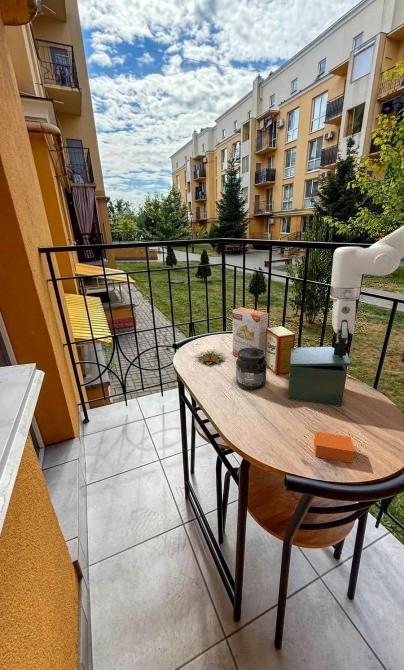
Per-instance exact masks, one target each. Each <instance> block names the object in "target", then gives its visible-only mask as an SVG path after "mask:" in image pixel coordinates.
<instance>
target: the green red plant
mask: <svg viewBox="0 0 404 670" xmlns="http://www.w3.org/2000/svg"><path fill="white" fill-rule="evenodd" d="M221 356H222V354H218V353H215V351H214V350H212V351H210V350H209V349H208V350H206V352H205V353H203V354H202V355H200V356H198V357H197V356H196V359H199V363H203V362H204V363H205V364H206V365H207V366H209V365H210V364H213V363H214V362H215V363H217V364H220V361H224V360H225V358H224V357H221Z"/></svg>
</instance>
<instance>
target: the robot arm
mask: <svg viewBox="0 0 404 670" xmlns="http://www.w3.org/2000/svg"><path fill="white" fill-rule="evenodd" d="M403 258H404V225H402V226H401V227H399V228H398V229H395V230H394V231H392V232H390V233H389V234H387V235H386V236H385V237H382V238H381V239H379V240H378V241H377V242H375V243H373V244H372V245H370V246H369V247H362V246H341V247H337V248H336V249H335V250H334V251H333V256H332V267H331V268H332V270H331V280H330V288H329V290H330V291H329V298H330V299H332V300H333V302H332V312H331V313H332V315H331V325H332V328H333V332H332V333H333V334H332V338H331V347H332V348H334V355H338V356H346V352H348V351H347V349H348V337H349V336H348V335H349V334H350V335H353V334H354V333H355V327H356V325H355V324H356V311H357V300H359V299H360V294H361V286H362V279H363V275H368V276H375V277H384V276H388V275H390V274H392V273H394V272H395V271H397V269H398V268H399V266H400V264H401V260H402V259H403ZM335 339H336V342H335Z"/></svg>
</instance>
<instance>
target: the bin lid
mask: <svg viewBox="0 0 404 670" xmlns="http://www.w3.org/2000/svg"><path fill="white" fill-rule="evenodd" d="M335 342H336V339H335ZM347 352H348V351H346V356H338V355H334V348H332V346H315V347H314V346H312V347H311V346H310V347H309V346H307V347H306V346H305V347H294V348H291V366H345V367H346V366H352V362H351V359H350V357H349V354H348V353H347Z"/></svg>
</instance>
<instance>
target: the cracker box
mask: <svg viewBox="0 0 404 670" xmlns="http://www.w3.org/2000/svg"><path fill="white" fill-rule="evenodd" d="M266 328H269V312H265V311H261V310H256V309H251V308H247V307H243V306H241V307H237V308H234V309H232V356H234V357H237V353H238V351H239V350H241V349H243V348H258V349H261V350H263V351H264V352H265V345H266Z"/></svg>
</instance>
